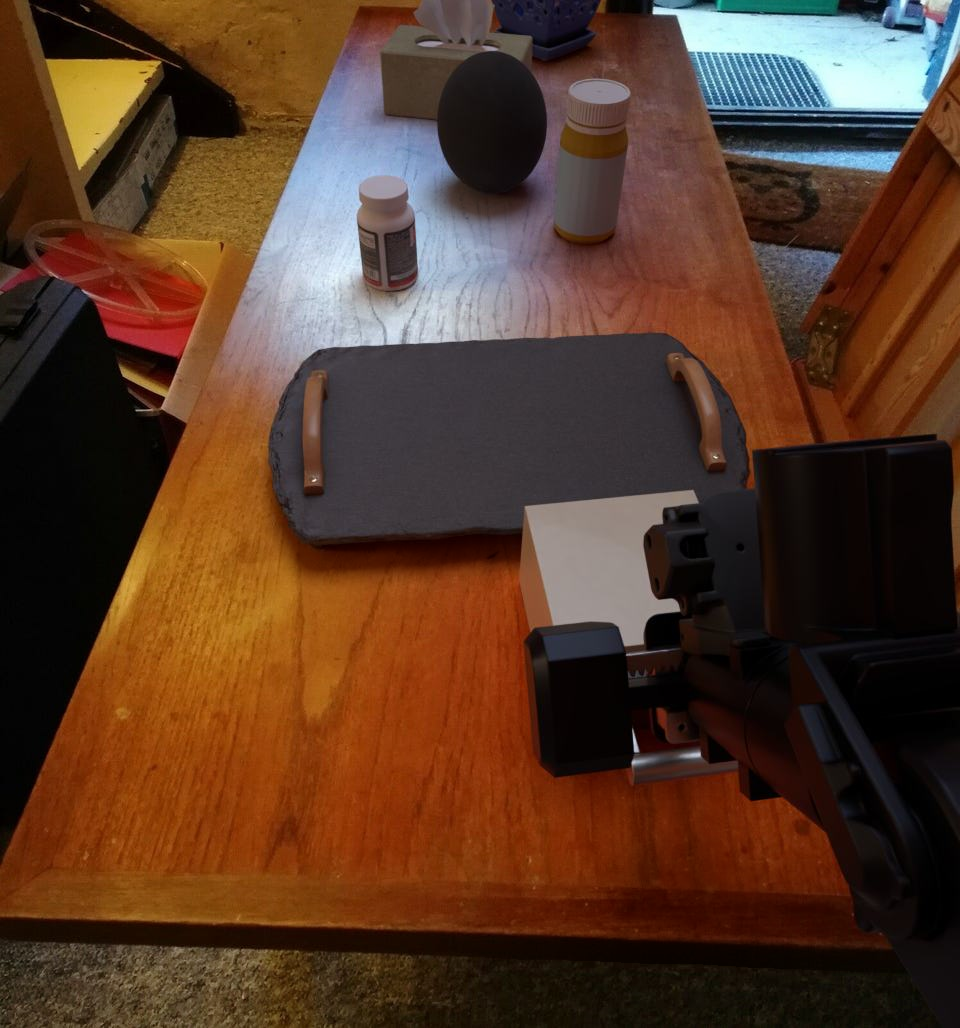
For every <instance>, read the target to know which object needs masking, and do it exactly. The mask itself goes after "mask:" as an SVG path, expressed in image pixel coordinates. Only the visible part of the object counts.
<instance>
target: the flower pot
mask: <svg viewBox="0 0 960 1028" xmlns="http://www.w3.org/2000/svg"><path fill="white" fill-rule="evenodd" d="M491 2H492V3H493V4H494V5H495V7H494V10H493V11H494V14H495V15H496V18H497V20H498V23H499V25H500V27H498V28H496V29H495V30H494V31H493V33H503V34H515V35H526V36H531V37H532V57H535V58H537V59H540V60H541V61H543V62H547V61H551V60H554V59H557V58H559V57H562V56H564V55H567V54H570V53H572V52H574V51H577V50H580V49H582V48H584V47H586V46H587V45H589V44H590V43H591V42H592V41H593V40H594V39H595V37H596V36H597V32H596V31H595V30H592V29H590V28H588V27H589V25H590V24H591V22H592V21H593V19H594V17H595V15H596V13H597V11H598V9H599V6H600V4H601V2H602V0H491Z"/></svg>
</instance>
